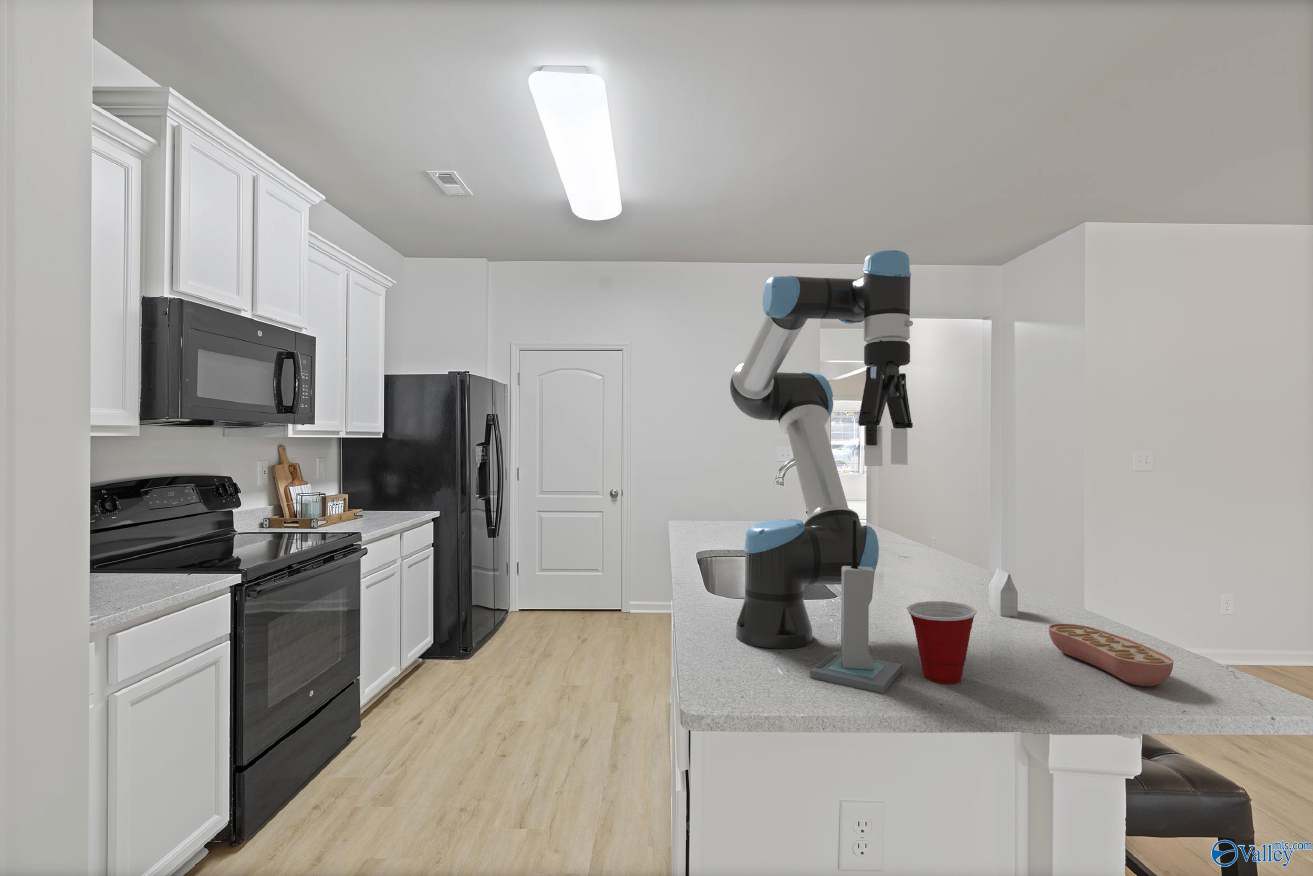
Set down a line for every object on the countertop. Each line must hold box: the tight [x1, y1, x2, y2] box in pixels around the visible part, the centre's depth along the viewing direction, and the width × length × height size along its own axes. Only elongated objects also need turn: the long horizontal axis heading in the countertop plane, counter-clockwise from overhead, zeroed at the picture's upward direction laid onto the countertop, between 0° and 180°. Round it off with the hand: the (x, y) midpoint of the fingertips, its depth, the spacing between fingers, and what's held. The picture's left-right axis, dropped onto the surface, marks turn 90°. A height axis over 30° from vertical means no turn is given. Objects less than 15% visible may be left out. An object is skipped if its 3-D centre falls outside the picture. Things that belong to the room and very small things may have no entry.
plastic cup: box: [906, 600, 978, 685], centre depth 109 cm, size 11×11×12 cm
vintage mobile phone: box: [840, 520, 876, 670], centre depth 111 cm, size 4×5×25 cm
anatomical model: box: [1048, 623, 1174, 688], centre depth 114 cm, size 23×10×5 cm, turn 5°
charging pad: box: [809, 651, 903, 694], centre depth 111 cm, size 12×12×1 cm
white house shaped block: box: [988, 567, 1019, 618], centre depth 150 cm, size 4×7×10 cm, turn 173°
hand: (886, 465), depth 112 cm, fingers open, 13 cm apart
